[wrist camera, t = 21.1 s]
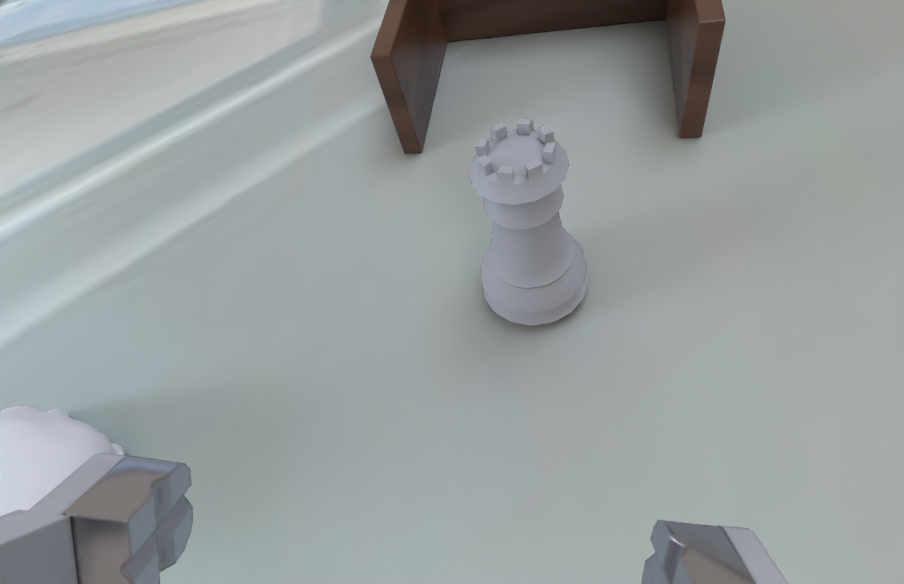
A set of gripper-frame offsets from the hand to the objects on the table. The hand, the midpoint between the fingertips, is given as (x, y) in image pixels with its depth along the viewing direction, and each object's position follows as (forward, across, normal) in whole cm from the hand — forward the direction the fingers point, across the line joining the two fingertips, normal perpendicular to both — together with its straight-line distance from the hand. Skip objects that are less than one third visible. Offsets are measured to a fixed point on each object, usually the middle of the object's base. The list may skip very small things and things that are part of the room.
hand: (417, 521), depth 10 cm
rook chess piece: (+15, -3, 0) cm, 16 cm away
